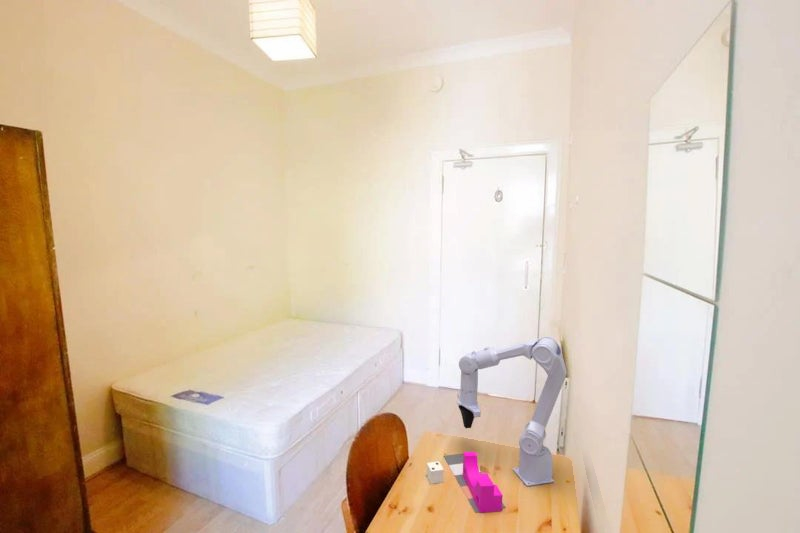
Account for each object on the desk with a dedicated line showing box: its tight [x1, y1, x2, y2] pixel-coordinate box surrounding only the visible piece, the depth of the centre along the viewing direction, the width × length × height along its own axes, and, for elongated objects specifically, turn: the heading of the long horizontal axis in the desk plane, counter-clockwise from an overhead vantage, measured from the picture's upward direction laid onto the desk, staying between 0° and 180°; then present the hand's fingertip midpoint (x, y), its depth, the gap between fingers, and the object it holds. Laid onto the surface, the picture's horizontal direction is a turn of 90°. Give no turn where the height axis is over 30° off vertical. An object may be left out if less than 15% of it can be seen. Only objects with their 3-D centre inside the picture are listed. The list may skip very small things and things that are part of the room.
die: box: [426, 461, 445, 485], centre depth 106 cm, size 4×4×4 cm
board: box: [443, 452, 506, 514], centre depth 106 cm, size 9×25×1 cm, turn 13°
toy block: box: [463, 451, 503, 514], centre depth 100 cm, size 15×6×8 cm, turn 8°
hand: (467, 427), depth 118 cm, fingers closed
